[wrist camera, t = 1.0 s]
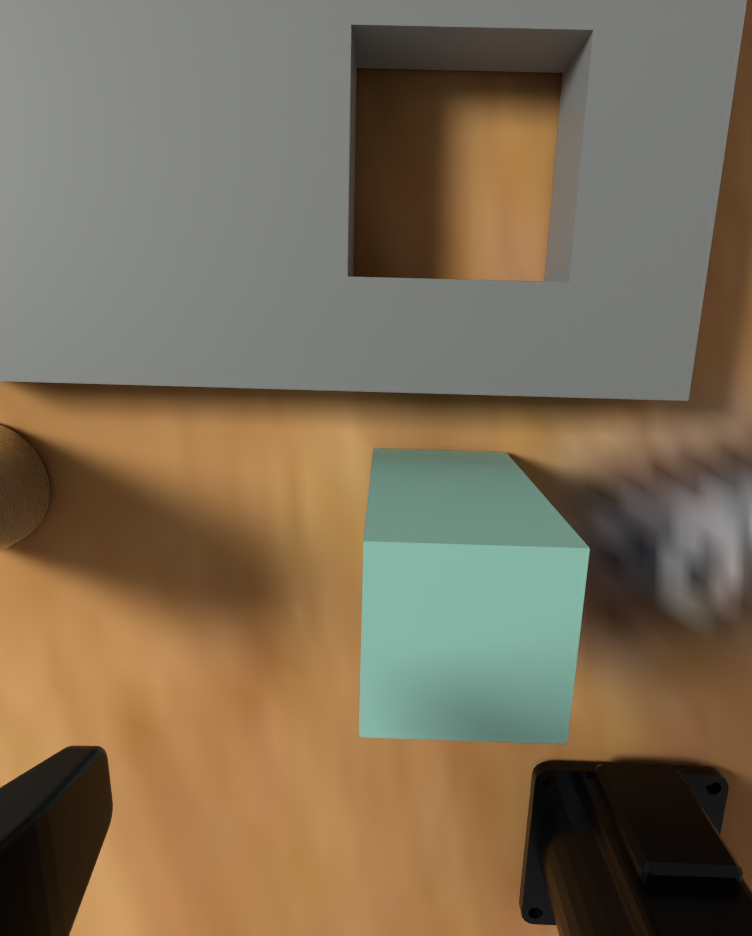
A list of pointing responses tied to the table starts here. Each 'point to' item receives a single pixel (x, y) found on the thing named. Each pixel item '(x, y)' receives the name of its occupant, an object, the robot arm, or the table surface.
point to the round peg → (20, 488)
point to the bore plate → (346, 196)
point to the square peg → (467, 601)
